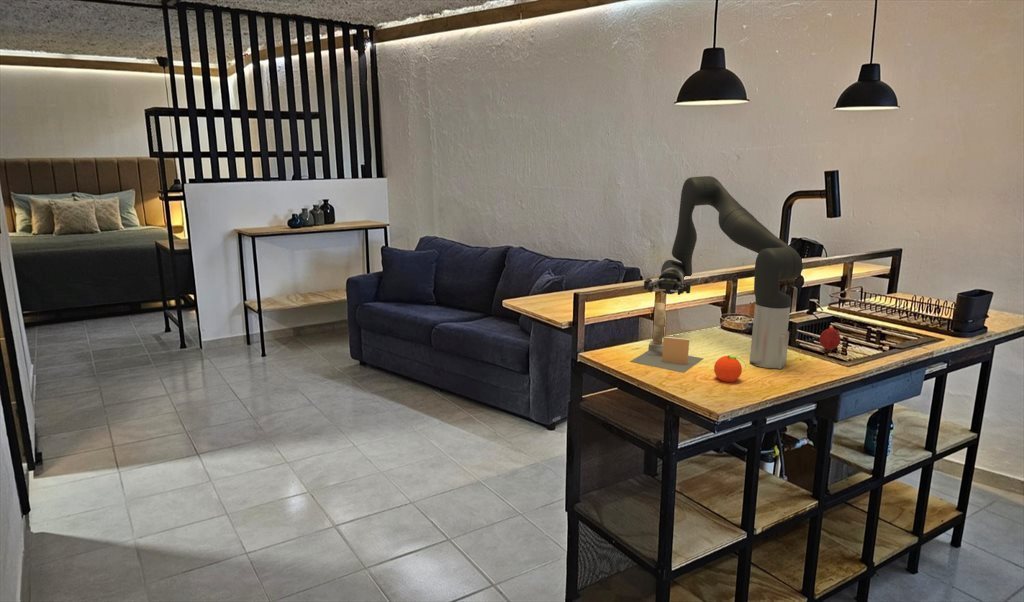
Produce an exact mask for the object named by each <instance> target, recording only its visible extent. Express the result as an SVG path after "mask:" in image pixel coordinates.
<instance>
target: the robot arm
mask: <svg viewBox="0 0 1024 602" xmlns="http://www.w3.org/2000/svg"><path fill="white" fill-rule="evenodd" d="M697 206H699V207H700V206H711V207H712V208H714V209H715V210H716V211H717V212H718V227H719V228H720V230H721V231H722V232H723V233H724V234H725V236H727V237H728V238H729V239H730V240H731V241H732V242H734V243H735V244H737V245H739V246H741V247H743V248H746V249H747V250H750V251H751V252H754V253H757V256H756V258H755V264H754V280H753V282H754V283H753V291H754V292H753V293H754V297H755V302H754V313H753V321H752V334H751V341H750V342H751V343H750V354H749V363H750V364H752V365H753V366H757V367H760V368H765V369H766V368H767V369H778V370H779V369H780V370H781V369H782V368H783V367H784V366H785V365H786V364H787V357H788V349H789V348H788V347H789V337H790V331H789V330H788V329H789V323H790V322H789V321H790V312H791V304H792V297H791V295H789V294H787V293H784V292H782V291H781V290H780V282H784V281H785V282H786V281H792V280H794V279H796V278H799V277H800V275H802V272H803V269H804V268H803V267H804V263H803V260H802V258H801V256H800V255H801V254H800V253H798V251H797V250H796V249H795V248H793V247H792V246H790V245H789V244H788V243H786V242H785V241H783V240H782V239H780V238H778V236H776V235H775V234H774V233H772V232H771V231H770V229H768V228H767V227H766V226H765V225H764V224H763V223H761V222H760V221H759V220H758V219H757V218H756V217H755V216H754V215H753V214H752V213H751V212H749V211H748V210H747V209H746V208H745V207H743V206H742V205H741V203H739V202H738V201H737V200H736V199H735V197H733V196H732V195H731V194H730V193H729V191H728V190H727V189H726V188H725V187H724V186H723V184H722V183H721V182H720V181H719V180H718V179H717V178H716V177H714V176H712V175H706V176H691V177H688V178H687V179H686V180H685V181H684V183H683V185H682V188H681V193H680V201H679V211H678V222H677V223H678V224H677V231H676V235H675V238H674V242H673V246H672V248H671V249H672V250H671V255H672V258H674V259H676V260H677V261H676V260H674V259H667V260H665V261H664V262H663V264H662V266H661V269H660V270H661V271H660V272H661V273H660V275H659V277H658V279H655V280H654V281H653V280H652V278H650V277H647V278H646V279H645V280H644V281H643V289H644V290H647V291H649V293H652V292H653V291H656V292H660V291H661V292H662V293H664V294H666V295H674V294H677V295H678V296H680V295H682V294H684V293H686V294H691V288H692V287H691V286H692V282H691V281H689V282H687V283H685V284H683V280H684V277H685V276H691V275H692V276H693V264H692V263H693V254H694V251H695V247H696V244H697V239H698V233H697V229H696V227H695V225H694V221H693V213H694V210H695V208H696V207H697Z"/></svg>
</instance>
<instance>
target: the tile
mask: <svg viewBox="0 0 1024 602" xmlns="http://www.w3.org/2000/svg"><path fill="white" fill-rule="evenodd" d="M662 342H663V352H662V361H664V362H672V363H681V364H687V363H688V356H689V351H690V350H689V349H690V338H682V337H673V336H663V340H662Z"/></svg>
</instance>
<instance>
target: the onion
mask: <svg viewBox="0 0 1024 602" xmlns="http://www.w3.org/2000/svg"><path fill="white" fill-rule="evenodd" d="M819 343H820V345H821V347H823V349H825V350H826V349H827V350H831V351H832V349H833V350H834V349H836V348H837V347H838V346H840V344H841V335H840V333H839V332H838V331H837V330H836V329H835V328H834V325H831V324H830V325H829V327H828V328H827V329H824V330H823V331H822V332H821V333H820V336H819ZM827 350H826V351H827Z"/></svg>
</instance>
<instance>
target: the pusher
mask: <svg viewBox="0 0 1024 602" xmlns="http://www.w3.org/2000/svg"><path fill="white" fill-rule="evenodd" d="M665 306H666V304H665V302H655V303H654V315H653V316H654V317H653V328H652V331H653V332H652V340H650V342H649V343H648V348H647V349H648V350H647V351H648V354H649V355H658V356H662V352H663V338H664V336H663V335H664V323H665V321H664V319H665V308H666V307H665Z"/></svg>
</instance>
